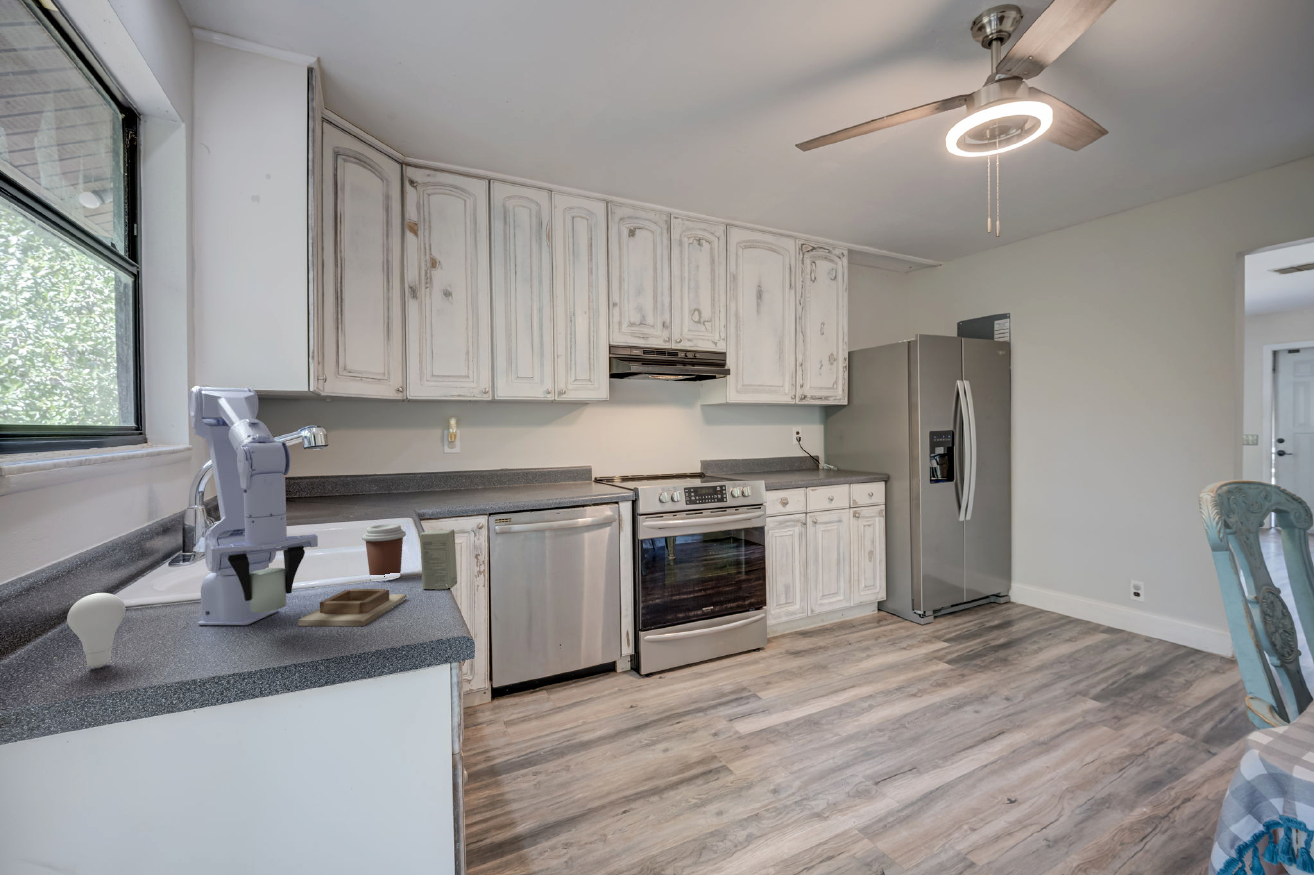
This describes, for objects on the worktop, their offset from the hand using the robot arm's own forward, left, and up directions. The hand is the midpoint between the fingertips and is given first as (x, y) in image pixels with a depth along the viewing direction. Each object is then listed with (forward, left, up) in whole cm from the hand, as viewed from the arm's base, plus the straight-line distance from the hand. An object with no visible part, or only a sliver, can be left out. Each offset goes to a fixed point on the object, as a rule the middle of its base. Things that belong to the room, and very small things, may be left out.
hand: (268, 595), depth 94 cm
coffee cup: (0, +36, -7) cm, 37 cm away
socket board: (+7, +13, -7) cm, 16 cm away
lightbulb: (-17, -12, -7) cm, 22 cm away
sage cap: (0, 0, -2) cm, 2 cm away
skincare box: (+16, +29, -7) cm, 34 cm away
